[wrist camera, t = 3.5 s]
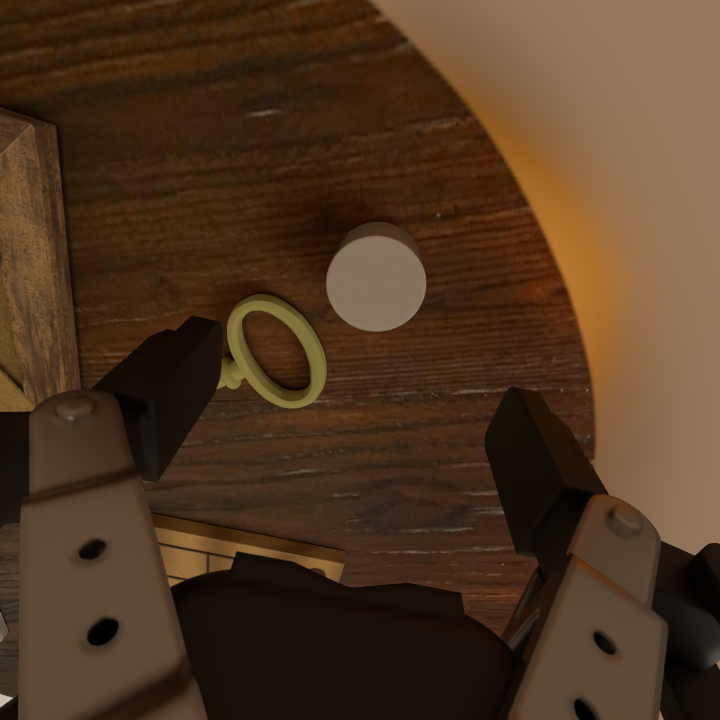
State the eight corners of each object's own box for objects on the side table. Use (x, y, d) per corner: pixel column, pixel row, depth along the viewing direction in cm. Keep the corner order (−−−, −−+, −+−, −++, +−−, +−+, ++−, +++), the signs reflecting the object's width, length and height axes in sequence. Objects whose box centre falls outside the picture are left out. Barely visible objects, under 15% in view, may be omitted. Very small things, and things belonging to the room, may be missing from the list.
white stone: (433, 233, 20) (439, 249, 17) (408, 315, 22) (410, 341, 20) (342, 211, 20) (335, 224, 17) (327, 297, 22) (318, 320, 19)
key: (141, 392, 26) (122, 412, 24) (267, 275, 22) (255, 289, 20) (226, 457, 29) (215, 479, 27) (355, 364, 24) (352, 383, 22)
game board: (346, 551, 33) (344, 566, 32) (308, 668, 44) (306, 682, 43) (79, 498, 32) (67, 512, 31) (109, 632, 43) (101, 646, 42)
